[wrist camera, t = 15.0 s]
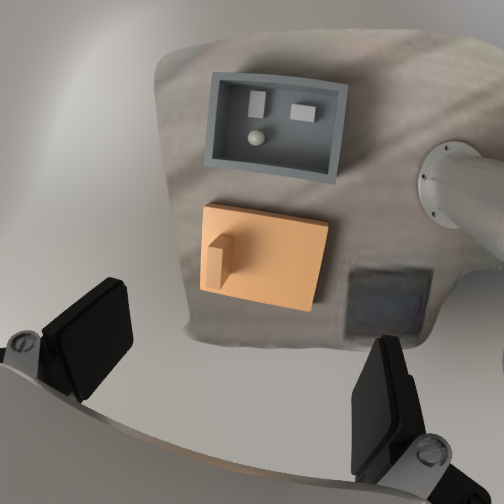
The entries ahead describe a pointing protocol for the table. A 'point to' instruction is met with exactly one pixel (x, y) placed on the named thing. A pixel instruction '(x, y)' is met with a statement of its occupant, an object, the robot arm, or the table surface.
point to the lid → (261, 255)
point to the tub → (276, 125)
